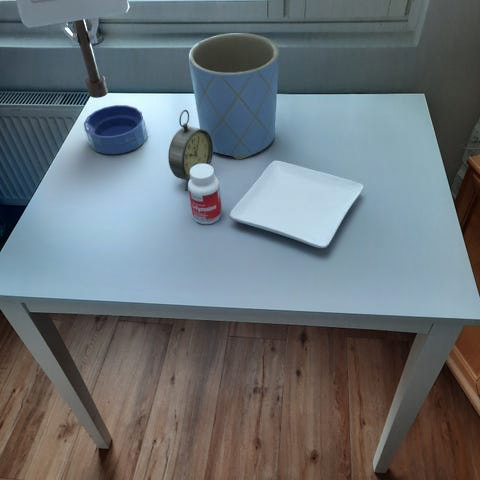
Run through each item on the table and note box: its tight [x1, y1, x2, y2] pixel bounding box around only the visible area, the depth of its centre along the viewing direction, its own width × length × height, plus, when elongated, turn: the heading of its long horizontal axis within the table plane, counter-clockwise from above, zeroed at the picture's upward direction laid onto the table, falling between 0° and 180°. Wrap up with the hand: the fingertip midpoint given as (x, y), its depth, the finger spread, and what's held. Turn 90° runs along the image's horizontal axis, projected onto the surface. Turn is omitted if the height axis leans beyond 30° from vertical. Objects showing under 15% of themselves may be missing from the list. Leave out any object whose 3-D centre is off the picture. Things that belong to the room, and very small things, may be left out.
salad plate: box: [229, 160, 364, 249], centre depth 96 cm, size 21×21×3 cm
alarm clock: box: [167, 109, 214, 192], centre depth 99 cm, size 11×5×16 cm, turn 148°
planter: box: [188, 32, 280, 160], centre depth 107 cm, size 19×19×20 cm
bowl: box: [83, 104, 148, 155], centre depth 115 cm, size 14×14×5 cm
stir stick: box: [72, 19, 109, 99], centre depth 95 cm, size 4×4×18 cm
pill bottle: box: [188, 164, 223, 225], centre depth 94 cm, size 6×6×11 cm
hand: (84, 43), depth 94 cm, fingers closed on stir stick, 2 cm apart
